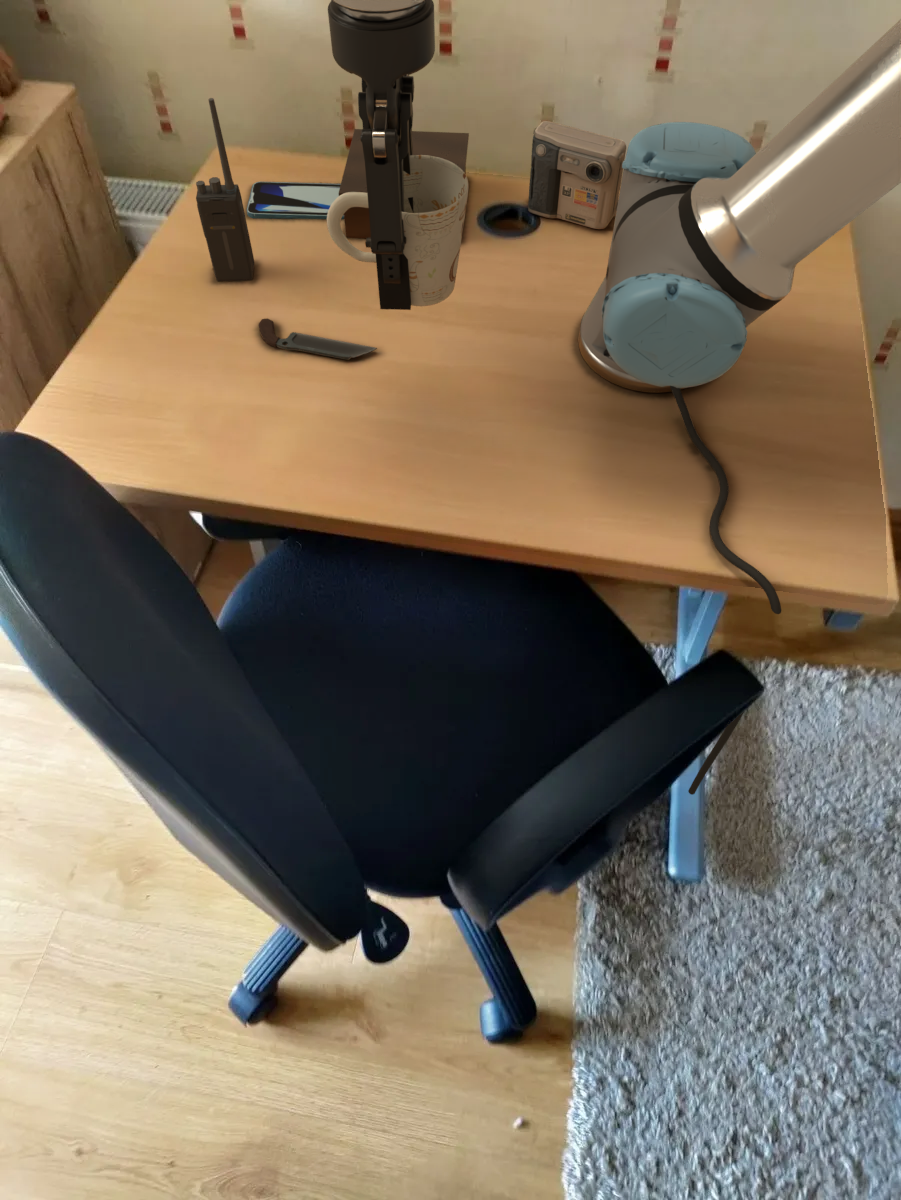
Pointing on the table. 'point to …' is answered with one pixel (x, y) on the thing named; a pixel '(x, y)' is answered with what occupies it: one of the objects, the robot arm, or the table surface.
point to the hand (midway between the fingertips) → (398, 282)
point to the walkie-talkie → (225, 219)
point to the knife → (312, 343)
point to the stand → (423, 144)
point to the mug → (420, 226)
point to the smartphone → (291, 200)
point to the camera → (575, 175)
